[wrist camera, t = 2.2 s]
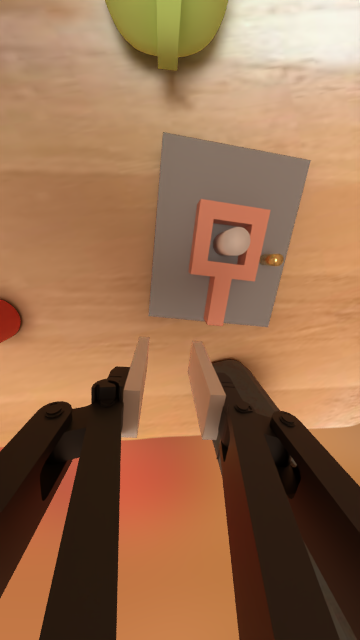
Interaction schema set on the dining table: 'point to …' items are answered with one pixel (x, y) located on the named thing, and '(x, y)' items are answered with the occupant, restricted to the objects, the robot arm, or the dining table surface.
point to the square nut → (225, 272)
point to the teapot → (167, 26)
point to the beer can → (8, 321)
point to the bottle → (265, 406)
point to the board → (226, 241)
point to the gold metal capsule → (271, 259)
